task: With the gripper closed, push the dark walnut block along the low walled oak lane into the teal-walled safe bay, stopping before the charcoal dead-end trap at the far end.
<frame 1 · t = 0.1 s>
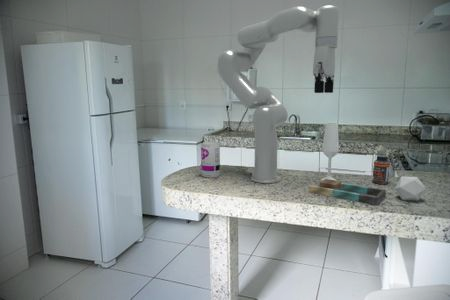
hand: (323, 92, 119), 37 cm above the table, tool pointing down, fingers open, 9 cm apart
champagne flute: (328, 180, 138), on the table
walnut block: (329, 192, 123), resting in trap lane
supplement bottle: (379, 183, 134), on the table
supplement can: (210, 176, 147), on the table
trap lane: (346, 194, 119), on the table
die: (408, 199, 114), on the table
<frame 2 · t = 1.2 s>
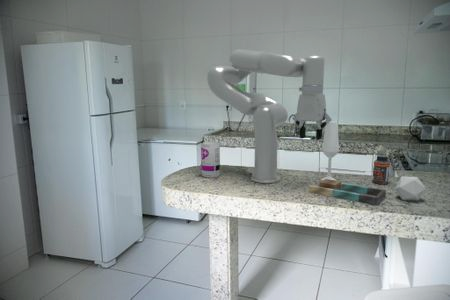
hand: (310, 138, 125), 19 cm above the table, tool pointing down, fingers open, 5 cm apart
nothing on the table moved.
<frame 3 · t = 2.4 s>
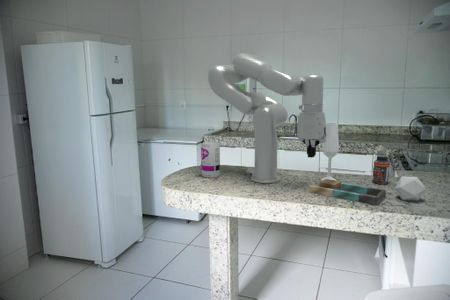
hand: (311, 156, 126), 12 cm above the table, tool pointing down, fingers closed
nothing on the table moved.
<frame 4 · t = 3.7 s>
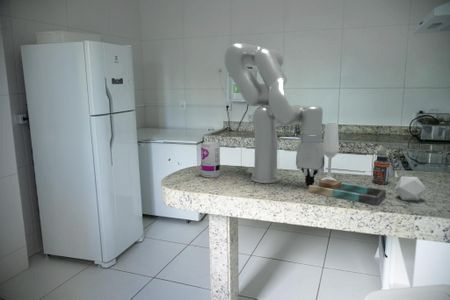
hand: (309, 185, 128), 1 cm above the table, tool pointing down, fingers closed
nothing on the table moved.
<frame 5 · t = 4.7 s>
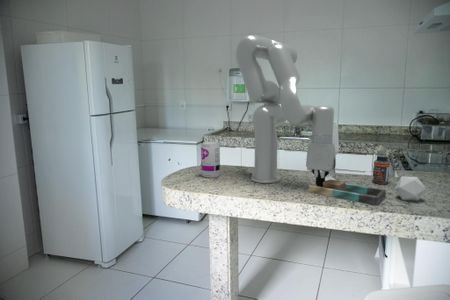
hand: (320, 187, 125), 1 cm above the table, tool pointing down, fingers closed
walnut block: (333, 192, 122), resting in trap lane
everything else where it was.
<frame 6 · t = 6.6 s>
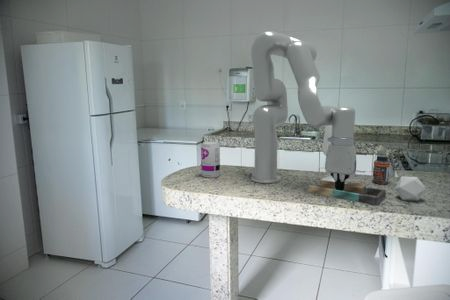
hand: (339, 190, 121), 1 cm above the table, tool pointing down, fingers closed
walnut block: (354, 195, 119), resting in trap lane
everything else where it was.
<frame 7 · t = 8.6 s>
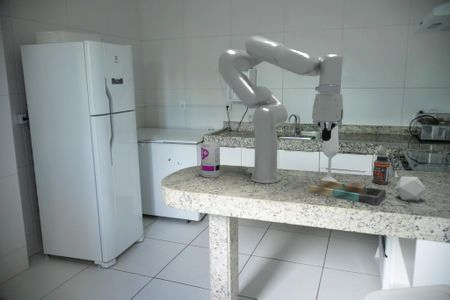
hand: (326, 140, 121), 19 cm above the table, tool pointing down, fingers closed
nothing on the table moved.
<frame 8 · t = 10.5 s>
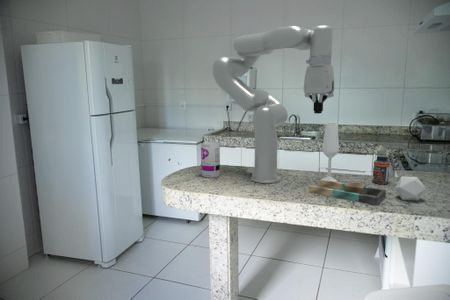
hand: (317, 113, 122), 29 cm above the table, tool pointing down, fingers closed
nothing on the table moved.
at the end: walnut block 1.7 cm from the target spot, resting in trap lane; walnut block tilted 0° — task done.
